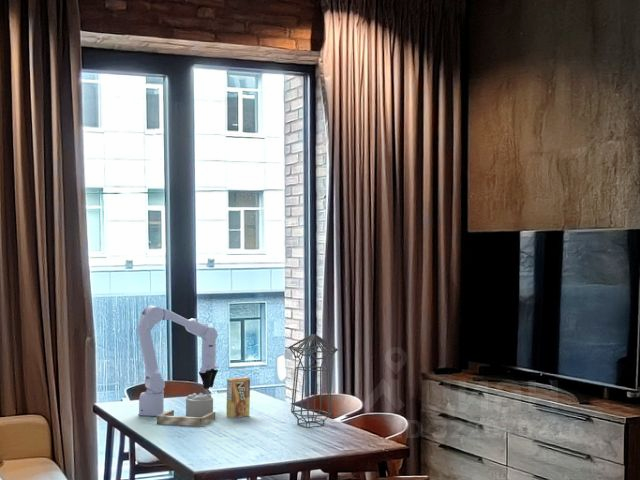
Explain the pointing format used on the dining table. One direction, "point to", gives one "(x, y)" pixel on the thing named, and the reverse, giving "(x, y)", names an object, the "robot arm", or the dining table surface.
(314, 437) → the dining table surface
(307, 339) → the geometric lantern
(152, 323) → the robot arm
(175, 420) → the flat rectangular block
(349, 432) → the dining table surface
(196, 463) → the dining table surface
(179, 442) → the dining table surface
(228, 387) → the candy box
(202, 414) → the lumpy-topped squat cylinder
